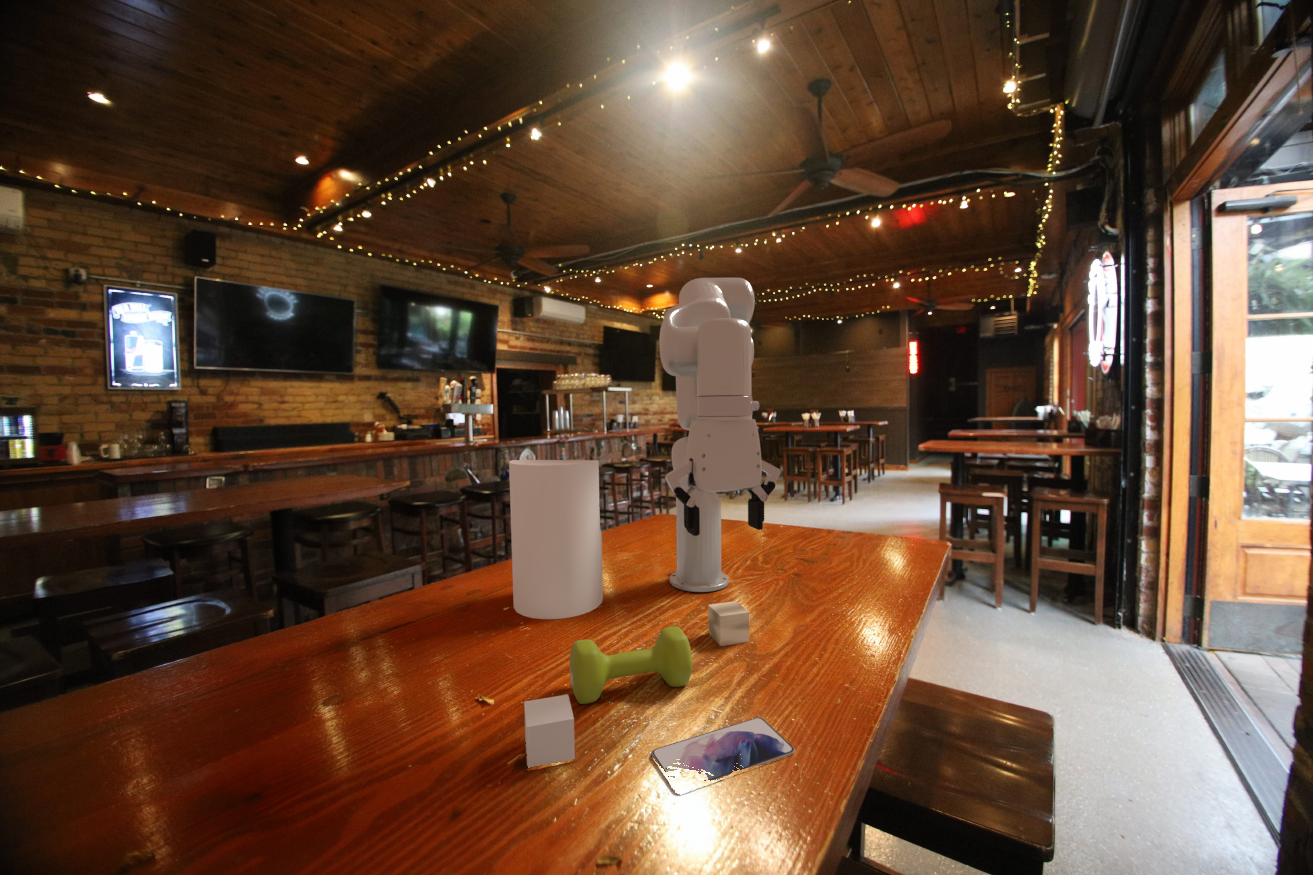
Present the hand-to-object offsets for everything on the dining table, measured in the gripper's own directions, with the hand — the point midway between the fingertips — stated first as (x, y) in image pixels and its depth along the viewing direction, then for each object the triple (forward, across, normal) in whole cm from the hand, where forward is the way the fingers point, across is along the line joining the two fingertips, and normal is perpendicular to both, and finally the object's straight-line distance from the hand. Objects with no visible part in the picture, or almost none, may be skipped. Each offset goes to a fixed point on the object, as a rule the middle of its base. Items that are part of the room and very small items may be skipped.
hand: (724, 530), depth 74 cm
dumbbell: (+21, +14, -1) cm, 25 cm away
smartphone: (+21, +8, +16) cm, 28 cm away
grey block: (+21, +26, +9) cm, 35 cm away
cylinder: (+21, +19, -36) cm, 45 cm away
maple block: (+21, -5, -10) cm, 24 cm away
